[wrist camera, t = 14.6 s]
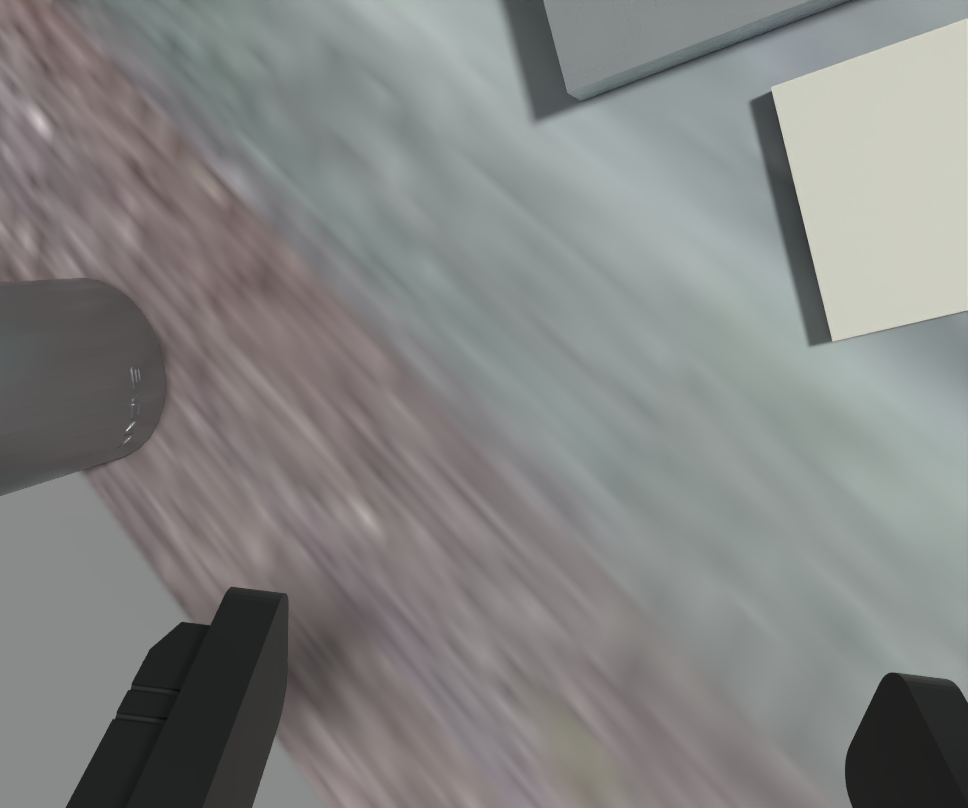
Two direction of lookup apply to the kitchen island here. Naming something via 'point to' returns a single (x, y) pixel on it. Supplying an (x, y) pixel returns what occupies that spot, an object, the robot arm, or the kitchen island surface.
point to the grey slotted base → (655, 34)
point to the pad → (884, 180)
